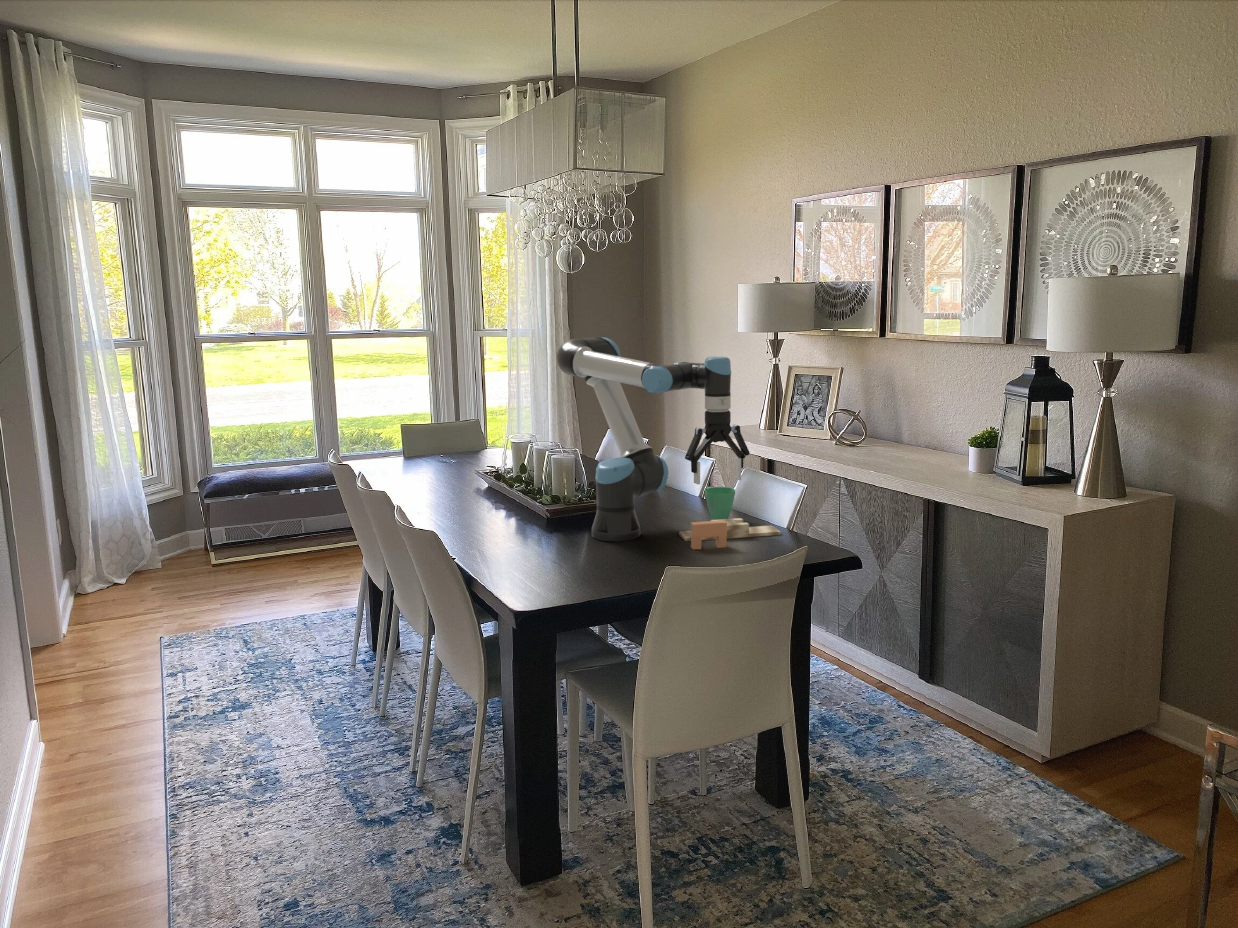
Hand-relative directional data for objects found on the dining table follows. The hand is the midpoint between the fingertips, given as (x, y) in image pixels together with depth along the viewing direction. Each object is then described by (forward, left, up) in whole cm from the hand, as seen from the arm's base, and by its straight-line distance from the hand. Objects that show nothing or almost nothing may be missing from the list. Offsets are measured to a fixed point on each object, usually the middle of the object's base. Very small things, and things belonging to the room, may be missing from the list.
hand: (717, 481), depth 273 cm
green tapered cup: (+8, +27, -19) cm, 34 cm away
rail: (+6, +6, -18) cm, 20 cm away
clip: (-4, -6, -18) cm, 20 cm away
